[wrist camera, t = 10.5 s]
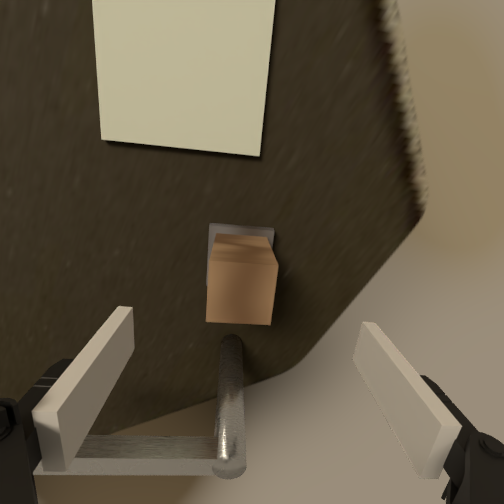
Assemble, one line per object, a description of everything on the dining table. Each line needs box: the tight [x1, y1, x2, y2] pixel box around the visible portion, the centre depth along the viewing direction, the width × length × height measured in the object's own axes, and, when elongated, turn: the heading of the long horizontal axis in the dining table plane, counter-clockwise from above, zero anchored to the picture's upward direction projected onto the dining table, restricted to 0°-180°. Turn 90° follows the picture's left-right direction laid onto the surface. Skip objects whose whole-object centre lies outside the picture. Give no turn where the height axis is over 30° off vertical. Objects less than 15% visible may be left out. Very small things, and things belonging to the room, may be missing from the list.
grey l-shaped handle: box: [33, 334, 246, 479], centre depth 24 cm, size 2×19×15 cm, turn 84°
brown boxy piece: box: [206, 223, 279, 325], centre depth 25 cm, size 6×6×9 cm
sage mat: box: [92, 0, 275, 156], centre depth 23 cm, size 14×14×1 cm
